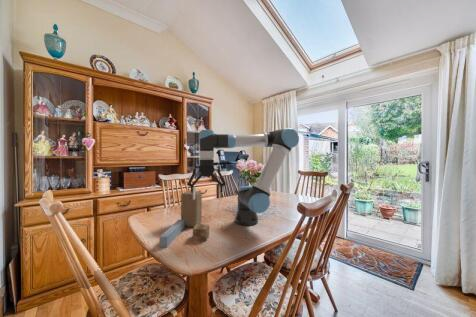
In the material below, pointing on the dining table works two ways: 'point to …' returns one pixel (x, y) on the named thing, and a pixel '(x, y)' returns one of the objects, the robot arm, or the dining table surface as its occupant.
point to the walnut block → (201, 232)
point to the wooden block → (191, 208)
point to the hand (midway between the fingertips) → (207, 198)
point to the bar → (171, 233)
